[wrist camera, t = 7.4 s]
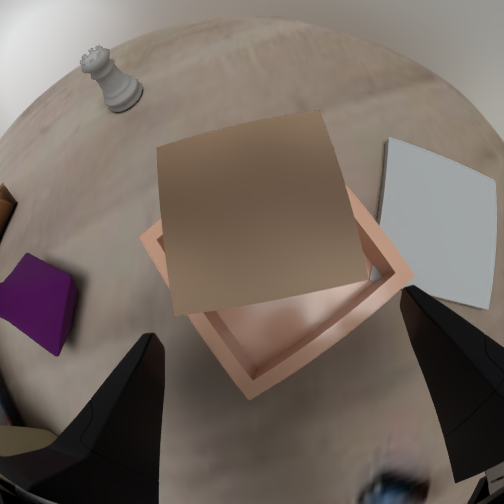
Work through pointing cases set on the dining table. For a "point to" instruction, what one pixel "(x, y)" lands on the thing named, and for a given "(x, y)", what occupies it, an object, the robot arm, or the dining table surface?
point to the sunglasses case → (5, 205)
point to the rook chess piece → (111, 80)
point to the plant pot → (23, 440)
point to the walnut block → (256, 215)
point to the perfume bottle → (39, 302)
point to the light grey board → (439, 223)
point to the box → (293, 313)
